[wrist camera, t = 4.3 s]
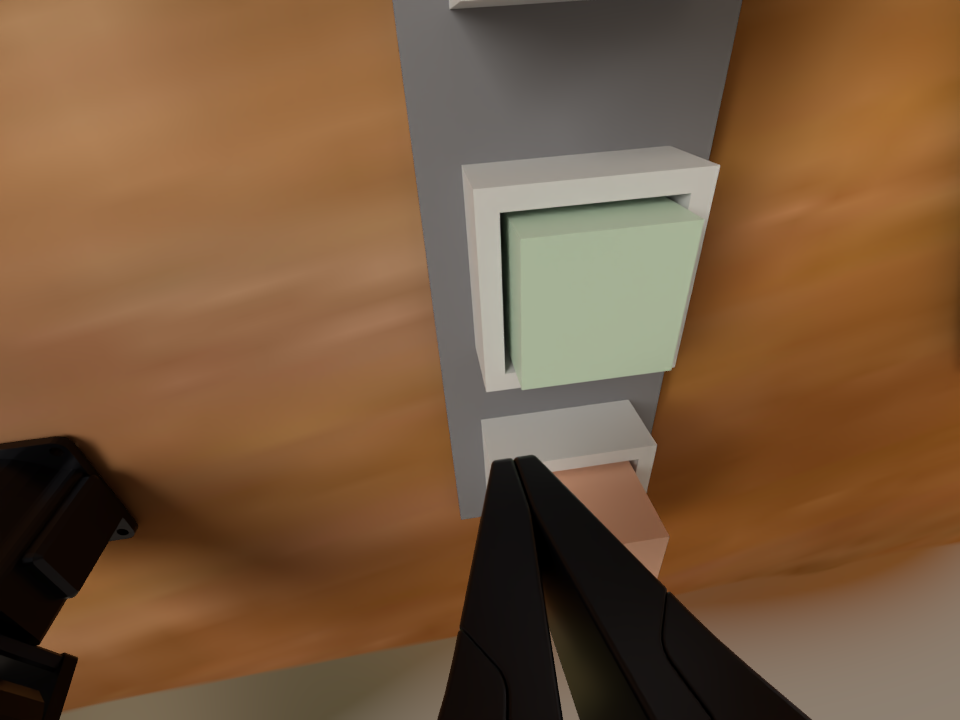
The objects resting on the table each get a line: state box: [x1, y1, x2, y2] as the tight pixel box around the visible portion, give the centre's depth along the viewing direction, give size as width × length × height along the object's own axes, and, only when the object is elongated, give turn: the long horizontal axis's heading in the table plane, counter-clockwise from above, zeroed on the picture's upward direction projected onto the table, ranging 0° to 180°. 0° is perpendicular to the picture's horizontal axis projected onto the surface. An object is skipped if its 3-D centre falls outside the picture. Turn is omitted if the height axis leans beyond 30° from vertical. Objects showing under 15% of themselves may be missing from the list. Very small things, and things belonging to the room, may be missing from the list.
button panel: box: [393, 0, 742, 520], centre depth 16 cm, size 10×29×4 cm, turn 3°
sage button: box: [500, 196, 704, 390], centre depth 15 cm, size 5×5×4 cm
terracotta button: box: [552, 461, 670, 578], centre depth 20 cm, size 5×5×4 cm
